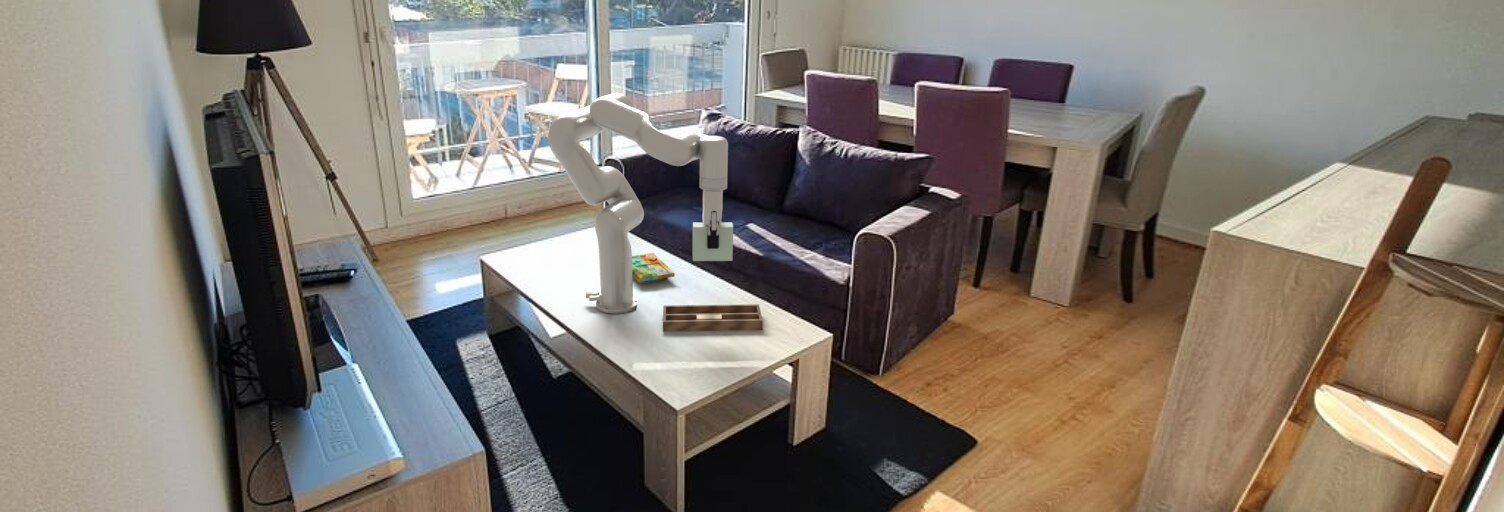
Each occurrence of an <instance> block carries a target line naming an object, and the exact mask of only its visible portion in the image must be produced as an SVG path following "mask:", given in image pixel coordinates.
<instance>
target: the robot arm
mask: <svg viewBox="0 0 1504 512" xmlns="http://www.w3.org/2000/svg"><path fill="white" fill-rule="evenodd" d="M607 130H608V131H610V132H611V133H613V134H616V135H619V136H621V137H624V138H626V139H628V140H630V141H632V142H634V143H636V144H637V146H638V147H640V149H641V150H642V151H643V152H645V154H647V155H648V156H650V157H652V158H654V159H656V160H659V161H661V162H663V163H666V164H668V165H670V166H676V167H682V166H685V165H687V164H689V163H691V162H693V161H696V160H698V159H699V188H700V189H701V190H702V215H701V216H702V222H703V224H704V225H705V226H706V225H708V234H707V248H708V249H718V248H719V234H718V226H719V225H720V224H721V222H722V217H723V196H724V195H723V193H724V191H725V190H727V189H728V163H729V162H728V160H729V158H728V157H729V152H728V151H729V142H728V140H727V138H726V137H723V136H720V135H707V134H703V133H700V132H696V131H687V132H685V133H683V134H680V135H677V136H675V137H674V136H671V135H670V134H667V133H665V132H662V131H660V130H658V129H657V128H655V127H654V126H653V125H652V117H651V115H650V113H648V112H646V111H643V110H640V109H639V108H635V107H634V106H633V102H632V100H631V99H630V98H629V97H628V96H627V95H625V94H623V93H621V92H613V93H610V94H607V95H603V96H600V97H597V98H596V99H595V100H593V101H592V103H591V104H590V105H587V106H585V107H581V108H580V109H575V110H573V111H569V112H565V113H563V114H561V115H559V116H558V117H557V118H555V119H554V120H553V121H552V122H551V125H550V126H549V129H548V132H547V133H548V135H547V136H548V137H547V142H548V145H549V148H550V150H551V152H552V153H553V155H554V157H555V158H556V160H557V161H558V162H559V164H560V165H561V166H562V168H563V169H564V171H565V172H566V174H567V176H568V177H569V179H570V181H571V182H572V184H573V186H574V187H575V189H576V190H577V191H578V194H579V195H580V197H581V199H583V201H584V202H585V203H586V204H588V205H590V206H599V205H602V204H603V203H605V202H607V203H608V204H607V205H606V206H604V207H603V208H602V209H601V210H599V212H598V213H597V214H596V216H595V219H594V229H595V230H594V231H595V234H596V239H597V245H598V260H599V280H600V281H599V282H600V289H599V290H596V292H595V291H594V292H593V291H587V292H585V298H586V299H588V300H589V302H595V307H596V309H597V310H599V311H600V312H602V313H607V314H617V315H618V314H625V313H628V312H631V311H633V310H636V308H637V307H638V303H639V299H638V298H637V297H636V296H634V290H633V289H634V287H633V276H632V256H633V255H632V254H633V253H632V252H633V251H632V245H631V241H630V239H629V235H628V234H629V232H630V231H632V230H634V228H636V227H638V226H639V225H640V224H641V223H642V221H643V220H644V216H645V212H644V208H643V206H642V202H641V201H640V200H639V198H638V197H637V195H636V193H635V191H634V189H633V188H632V187H631V185H630V182H628V180H627V179H626V177H625V176H624V174H623V173H622V172H621V171H620V170H619V169H617V168H615V167H614V166H610V165H606V166H601V167H599V166H598V164H597V162H595V160H594V158H593V156H591V154H590V152H589V151H588V150H586V149H585V148H584V147H582V146H581V145H580V142H581V141H583V140H586V139H589V138H593V137H594V136H597V135H599V134H601V133H603V132H605V131H607ZM710 222H712V224H710ZM716 222H717V224H716ZM718 224H719V225H718ZM710 227H712V228H710Z"/></svg>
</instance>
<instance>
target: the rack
mask: <svg viewBox="0 0 1504 512" xmlns="http://www.w3.org/2000/svg"><path fill="white" fill-rule="evenodd" d="M662 307H663V308H662V332H664V333H665V332H670V333H671V332H672V333H673V332H719V331H720V332H722V331H723V332H725V331H726V332H727V331H730V332H731V331H763V325H764V319H763V316H762V311H761V308H760V304H757V303H755V304H754V303H752V304H751V303H750V304H748V303H747V304H691V305H690V304H689V305H687V304H686V305H685V304H683V305H677V304H676V305H674V304H673V305H669V304H668V305H667V304H666V305H665V304H664V305H663V306H662ZM720 314H721V316H722V320H697V315H720Z"/></svg>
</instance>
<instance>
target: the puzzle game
mask: <svg viewBox="0 0 1504 512" xmlns="http://www.w3.org/2000/svg"><path fill="white" fill-rule="evenodd" d="M675 273H676V272H675ZM675 273H674V271H673V270H672V269H671V268H670V267H668V266H667V264H666V263H664V262H663V261H662V260H661V259H660V258H659V257H658V256H657V255H656V254H655V253H654V252H650V253H645V254H637V255H632V278H633V279H635V281H637V282H638V283H639V284H646V283H653V282H659V281H665V280H668V279H669V278H675V275H676V274H675Z"/></svg>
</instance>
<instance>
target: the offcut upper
mask: <svg viewBox="0 0 1504 512" xmlns="http://www.w3.org/2000/svg"><path fill="white" fill-rule="evenodd" d="M697 320H722V316H721V314H720V315H697Z"/></svg>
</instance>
